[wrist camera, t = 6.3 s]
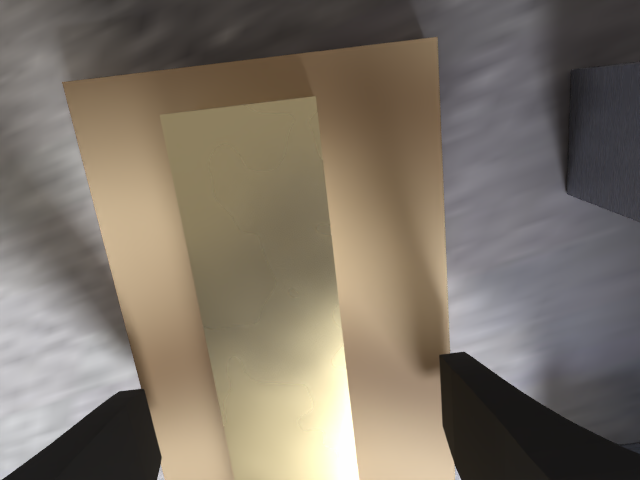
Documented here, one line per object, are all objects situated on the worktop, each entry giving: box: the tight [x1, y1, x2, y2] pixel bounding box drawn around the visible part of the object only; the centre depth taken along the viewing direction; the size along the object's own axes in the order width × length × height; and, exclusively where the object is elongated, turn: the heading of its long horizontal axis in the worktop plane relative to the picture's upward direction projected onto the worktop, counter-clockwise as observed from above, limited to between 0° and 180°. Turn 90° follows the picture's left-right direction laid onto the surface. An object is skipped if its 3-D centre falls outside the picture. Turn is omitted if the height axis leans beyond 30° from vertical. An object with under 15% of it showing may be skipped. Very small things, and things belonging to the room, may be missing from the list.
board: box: [62, 37, 455, 480], centre depth 13 cm, size 16×8×1 cm, turn 7°
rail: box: [160, 96, 359, 480], centre depth 11 cm, size 14×3×3 cm, turn 7°
